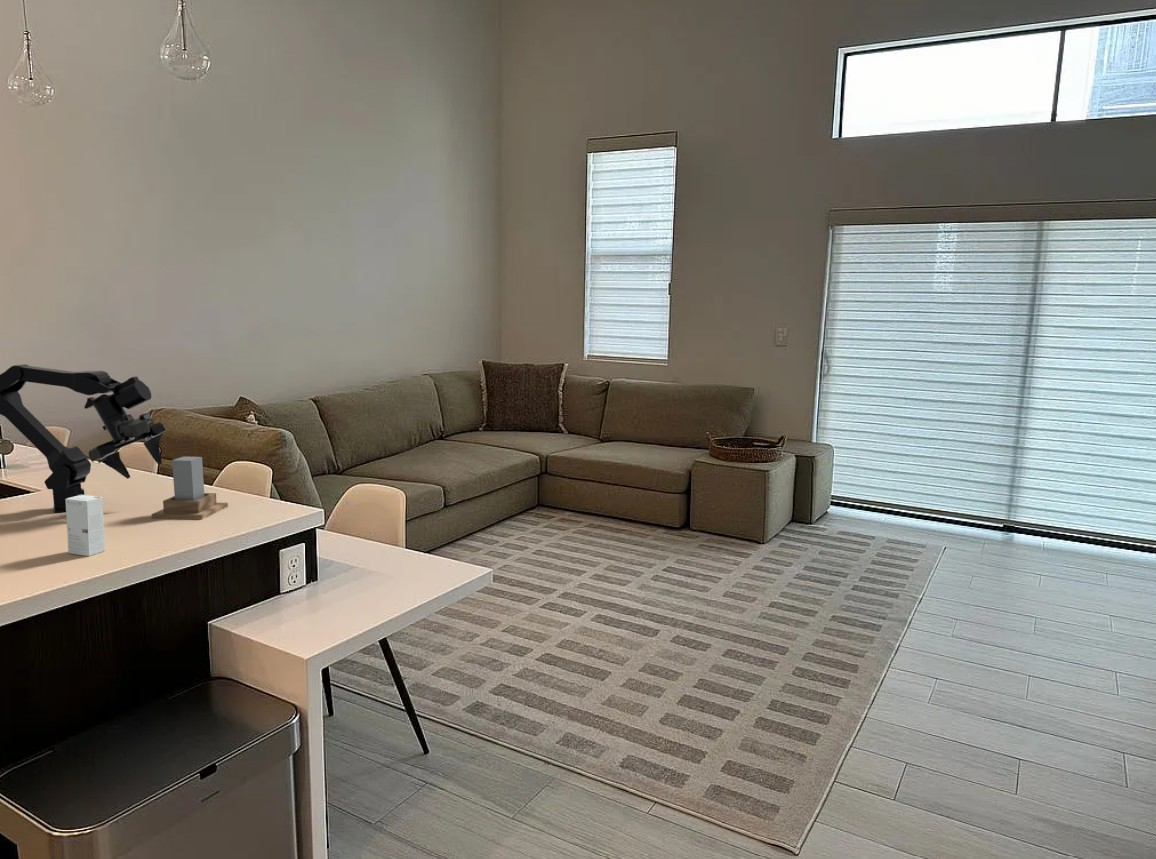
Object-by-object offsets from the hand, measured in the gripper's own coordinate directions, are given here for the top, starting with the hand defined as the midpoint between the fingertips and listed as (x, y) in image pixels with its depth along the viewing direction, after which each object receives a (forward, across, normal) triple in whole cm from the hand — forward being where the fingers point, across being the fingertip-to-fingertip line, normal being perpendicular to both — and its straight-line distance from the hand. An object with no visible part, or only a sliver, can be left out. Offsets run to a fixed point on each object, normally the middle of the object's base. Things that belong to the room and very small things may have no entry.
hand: (145, 471), depth 208 cm
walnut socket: (+14, +1, -7) cm, 16 cm away
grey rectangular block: (+14, +1, -8) cm, 16 cm away
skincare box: (+12, -32, -19) cm, 39 cm away
